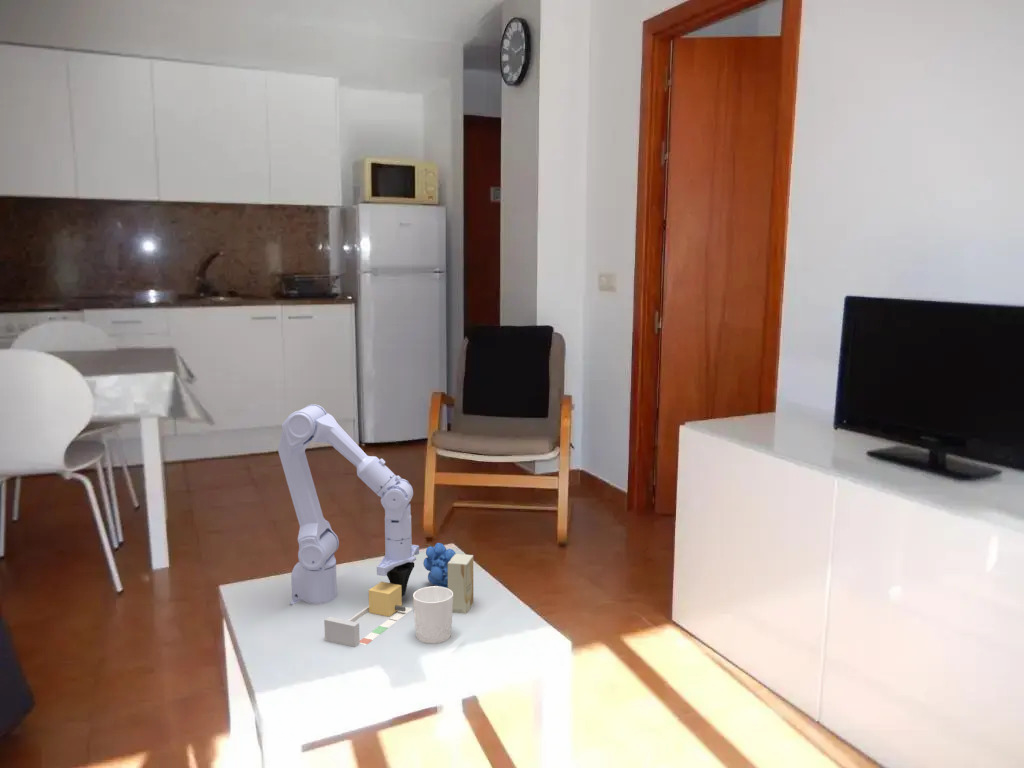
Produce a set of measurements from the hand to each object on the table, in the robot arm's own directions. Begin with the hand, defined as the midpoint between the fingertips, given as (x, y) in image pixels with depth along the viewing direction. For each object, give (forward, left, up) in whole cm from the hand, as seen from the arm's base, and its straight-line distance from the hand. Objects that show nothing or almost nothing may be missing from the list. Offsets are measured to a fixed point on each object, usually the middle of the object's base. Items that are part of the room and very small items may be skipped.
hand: (399, 595), depth 168 cm
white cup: (+15, -12, -3) cm, 19 cm away
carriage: (+1, -6, -1) cm, 6 cm away
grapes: (+6, +8, -3) cm, 11 cm away
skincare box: (+14, +2, -3) cm, 14 cm away
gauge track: (0, -12, -2) cm, 12 cm away
